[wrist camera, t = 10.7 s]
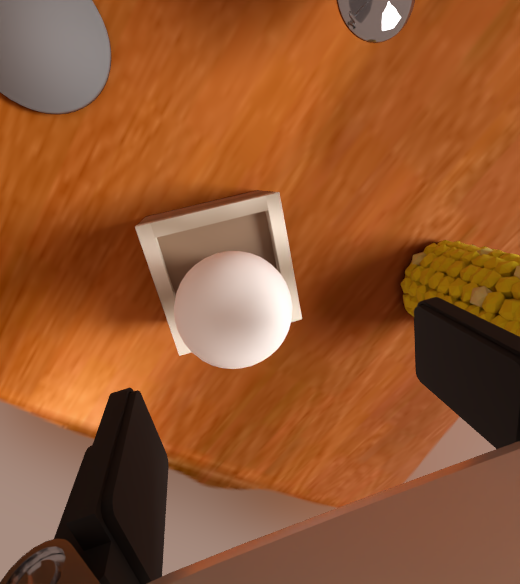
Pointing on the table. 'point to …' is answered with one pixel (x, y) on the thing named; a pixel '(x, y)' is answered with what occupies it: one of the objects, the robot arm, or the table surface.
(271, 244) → the square holder
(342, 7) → the wine glass
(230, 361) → the lightbulb
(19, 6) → the grey flat disc
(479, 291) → the food
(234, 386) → the table surface
